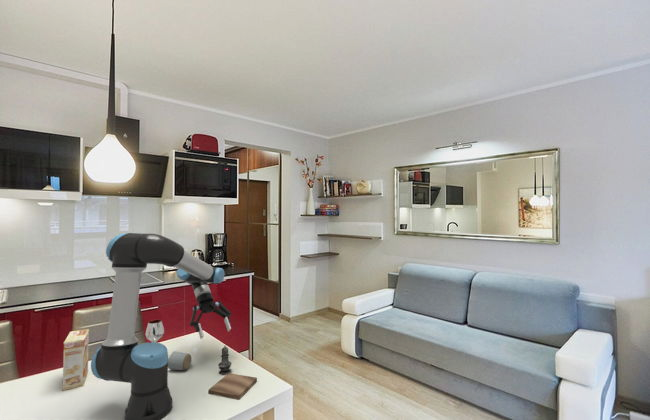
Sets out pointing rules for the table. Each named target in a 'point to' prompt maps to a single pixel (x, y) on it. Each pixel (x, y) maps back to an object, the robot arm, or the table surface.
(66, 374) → the coffeecake box
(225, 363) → the weathered metal finial
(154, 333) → the wineglass
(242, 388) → the walnut board
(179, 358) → the ceramic mug
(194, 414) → the table surface
